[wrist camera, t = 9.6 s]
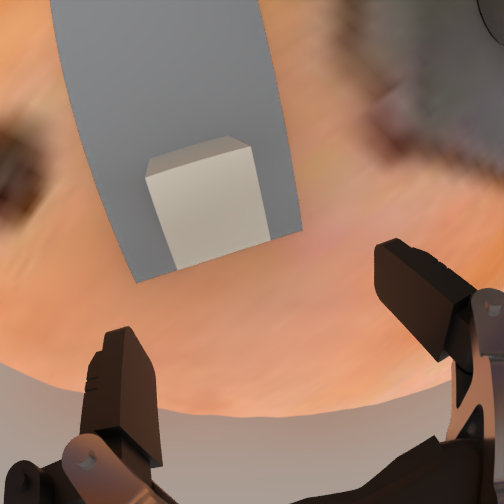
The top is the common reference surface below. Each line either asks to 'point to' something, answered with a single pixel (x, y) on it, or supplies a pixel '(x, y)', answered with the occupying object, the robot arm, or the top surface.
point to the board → (170, 104)
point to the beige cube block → (208, 200)
